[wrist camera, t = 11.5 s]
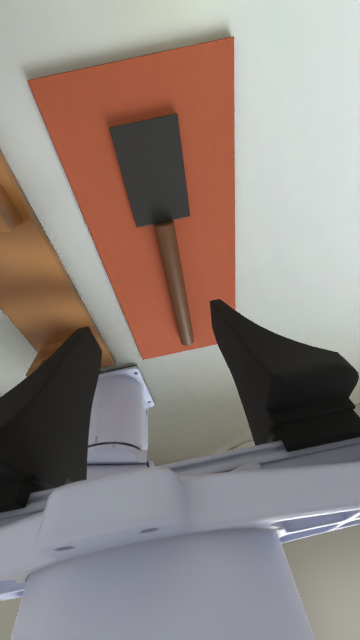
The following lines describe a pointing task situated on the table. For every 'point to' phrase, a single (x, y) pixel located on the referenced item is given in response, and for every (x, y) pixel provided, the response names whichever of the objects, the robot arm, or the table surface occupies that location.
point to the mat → (110, 193)
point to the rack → (36, 279)
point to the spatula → (158, 196)
